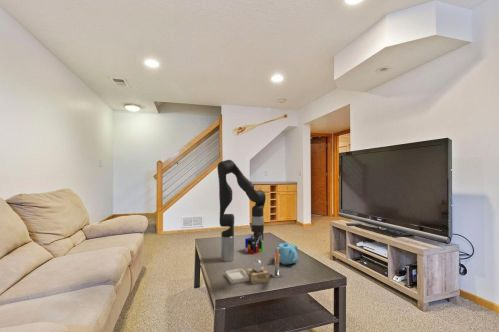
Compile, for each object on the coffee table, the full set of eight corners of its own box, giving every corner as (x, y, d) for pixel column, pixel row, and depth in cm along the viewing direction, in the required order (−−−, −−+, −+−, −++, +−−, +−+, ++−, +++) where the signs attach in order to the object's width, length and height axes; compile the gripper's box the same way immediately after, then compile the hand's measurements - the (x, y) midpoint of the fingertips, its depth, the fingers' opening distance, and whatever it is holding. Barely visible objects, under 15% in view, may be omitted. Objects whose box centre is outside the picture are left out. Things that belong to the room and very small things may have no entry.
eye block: (247, 276, 141) (247, 268, 141) (261, 274, 144) (261, 266, 144) (253, 284, 131) (253, 275, 131) (269, 281, 135) (269, 272, 135)
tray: (225, 274, 143) (225, 271, 143) (242, 272, 147) (242, 268, 147) (231, 284, 131) (231, 280, 131) (249, 281, 135) (249, 276, 135)
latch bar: (273, 265, 130) (273, 248, 130) (273, 255, 145) (273, 240, 146) (280, 265, 129) (280, 248, 129) (280, 255, 145) (280, 240, 145)
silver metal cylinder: (253, 278, 139) (253, 259, 139) (259, 276, 141) (259, 258, 141) (255, 281, 135) (255, 262, 135) (262, 280, 137) (262, 261, 137)
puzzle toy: (245, 251, 188) (245, 238, 188) (254, 248, 194) (254, 236, 194) (252, 254, 180) (252, 241, 180) (262, 251, 186) (262, 239, 186)
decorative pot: (271, 263, 162) (271, 244, 162) (279, 256, 176) (279, 238, 176) (293, 268, 154) (293, 248, 154) (300, 260, 168) (300, 241, 168)
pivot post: (270, 274, 144) (270, 256, 145) (278, 272, 147) (278, 255, 147) (274, 278, 139) (274, 259, 139) (283, 276, 141) (283, 258, 141)
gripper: (259, 226, 131) (259, 255, 130) (267, 221, 144) (267, 248, 143) (247, 225, 134) (246, 253, 133) (256, 220, 147) (256, 246, 146)
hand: (257, 250), depth 138 cm, fingers open, 8 cm apart
